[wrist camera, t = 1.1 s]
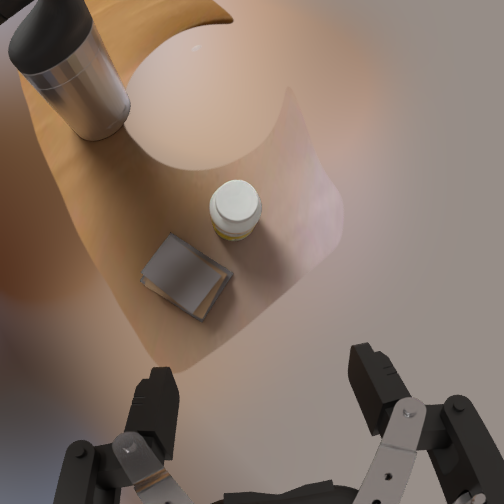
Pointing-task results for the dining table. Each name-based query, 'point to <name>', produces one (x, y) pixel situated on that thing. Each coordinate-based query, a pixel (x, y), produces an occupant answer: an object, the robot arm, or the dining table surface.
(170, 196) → the dining table surface
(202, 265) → the offcut stack
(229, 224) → the supplement bottle
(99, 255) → the dining table surface
